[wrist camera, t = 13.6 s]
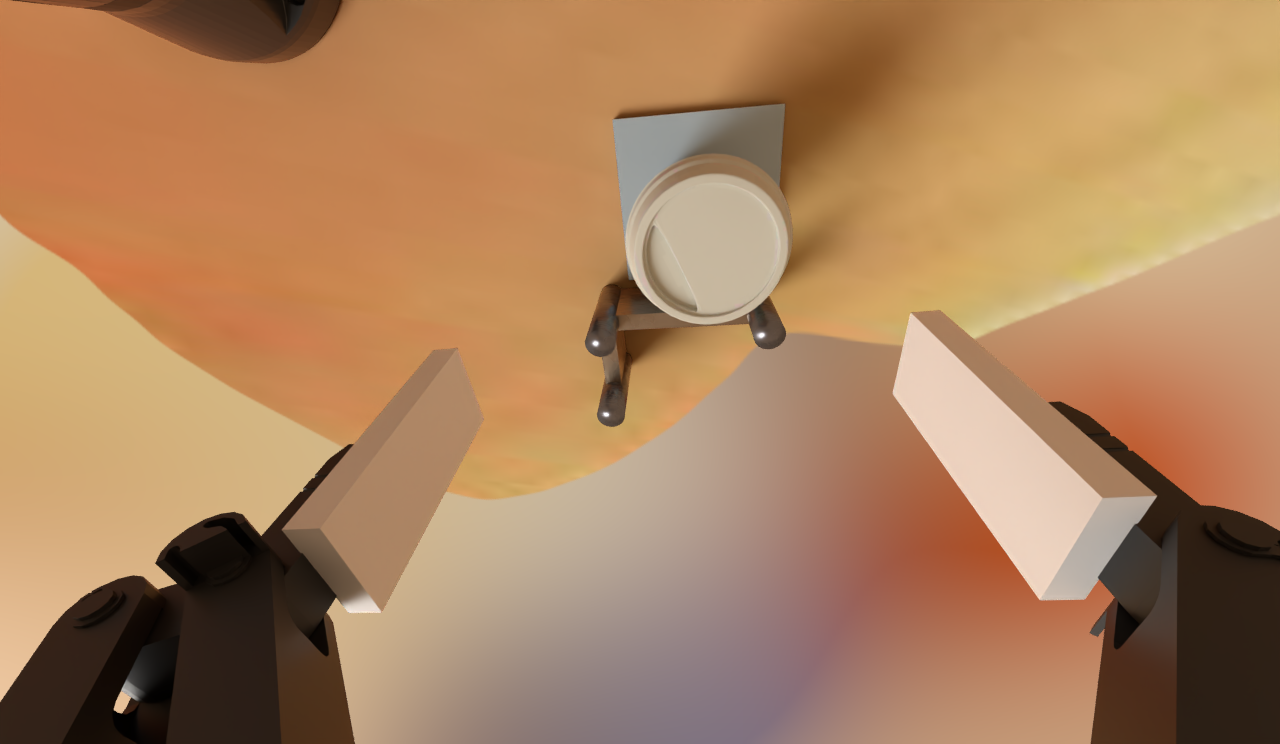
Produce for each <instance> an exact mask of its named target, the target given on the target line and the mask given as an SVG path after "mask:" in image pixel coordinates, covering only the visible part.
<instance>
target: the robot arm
mask: <svg viewBox="0 0 1280 744" xmlns="http://www.w3.org/2000/svg"><path fill="white" fill-rule="evenodd" d="M13 1H22V2H31V3H40V4H49V5H58V6H67V7H77V8H85V9H93V10H100V11H104V12H106V13H109V14H111V15H113V16H115V17H117V18H120V19H122V20H124V21H126V22H128V23H131V24H133V25H135V26H137V27H139V28H142V29H144V30H146V31H148V32H150V33H153V34H155V35H157V36H159V37H161V38H164V39H166V40H168V41H170V42H172V43H175V44H177V45H179V46H181V47H184V48H186V49H188V50H190V51H193V52H196V53H199V54H201V55H205V56H208V57H212V58H216V59H220V60H225V61H233V62H249V63H276V62H282V61H286V60H289V59H292V58H294V57H297V56H299V55H301V54H303V53H304V52H306V51H307V50H309V49H310V48H311V47H312V46H314V45H315V44H316V43H317V42H318V41H319V40H320V39H321V37H322V36H323V35H324V33H325V32H326V31H327V29H328V28H329V26H330V24H331V22H332V20H333V18H334V16H335V14H336V11H337V8H338V6H339V2H340V0H13ZM893 395H894V396H895V398H896V399H897V401H898V402H899V403H900V405H901V406H902V407H903V409H904V410H905V412H906V413H907V415H908V416H909V417H910V419H911V420H912V422H913V423H914V424H915V426H916V427H917V429H918V430H919V431H920V433H921V434H922V436H923V437H924V438H925V440H926V441H927V443H928V444H929V445H930V447H931V448H932V450H933V451H934V452H935V454H936V455H937V457H938V458H939V459H940V461H941V462H942V464H943V465H944V466H945V468H946V469H947V470H948V472H949V473H950V475H951V476H952V477H953V479H954V480H955V482H956V483H957V485H958V486H959V487H960V489H961V490H962V492H963V493H964V494H965V496H966V497H967V498H968V500H969V501H970V503H971V504H972V506H973V507H974V508H975V510H976V511H977V512H978V514H979V515H980V517H981V518H982V520H983V521H984V522H985V524H986V525H987V527H988V528H989V529H990V531H991V532H992V534H993V535H994V536H995V538H996V539H997V541H998V542H999V543H1000V545H1001V546H1002V548H1003V549H1004V550H1005V552H1006V553H1007V555H1008V556H1009V558H1010V559H1011V560H1012V562H1013V563H1014V564H1015V566H1016V567H1017V568H1018V570H1019V571H1020V573H1021V574H1022V576H1023V577H1024V579H1025V580H1026V581H1027V583H1028V584H1029V586H1030V587H1031V588H1032V590H1033V591H1034V593H1035V594H1036V595H1037V597H1038V598H1039V599H1040V600H1077V599H1085V598H1086V597H1087V595H1088V594H1089V593H1090V591H1091V590H1092V588H1093V587H1094V585H1095V584H1096V583H1097V581H1098V580H1101V582H1102V583H1103V584H1104V585H1105V587H1106V588H1107V589H1108V590H1109V591H1110V592H1111V593H1112V595H1113V596H1114V597H1115V598H1114V599H1113V601H1112V602H1111V603H1110V605H1109V606H1108V607H1107V609H1106V610H1105V611H1104V613H1103V614H1102V615H1101V616H1100V618H1099V619H1098V620H1097V622H1096V623H1095V624H1094V626H1093V628H1092V630H1091V631H1090V633H1091V634H1093V635H1095V636H1099V634H1100V633H1101V632H1102V631H1103V629H1105V632H1104V639H1103V648H1102V656H1101V664H1100V672H1099V680H1098V689H1097V697H1096V706H1095V713H1094V721H1093V729H1092V738H1091V744H1280V531H1279V530H1277V529H1275V528H1273V527H1272V526H1270V525H1268V524H1266V523H1264V522H1263V521H1260V520H1258V519H1255V518H1253V517H1250V516H1248V515H1245V514H1243V513H1240V512H1237V511H1233V510H1229V509H1225V508H1221V507H1216V506H1203V505H1202V506H1201V505H1200V504H1198V503H1197V502H1196V501H1195V500H1193V499H1192V498H1191V497H1189V496H1188V495H1187V494H1186V493H1184V492H1183V491H1182V490H1181V489H1180V488H1178V487H1177V486H1176V485H1175V484H1173V483H1172V482H1171V481H1170V480H1168V479H1167V478H1166V477H1165V476H1163V475H1162V474H1161V473H1160V472H1158V471H1157V470H1156V469H1155V468H1153V467H1152V466H1151V465H1150V464H1148V463H1147V462H1146V461H1145V460H1143V459H1142V458H1141V457H1140V456H1139V455H1137V454H1136V453H1135V452H1133V451H1129V450H1128V447H1127V446H1126V445H1125V444H1124V443H1122V442H1121V441H1120V440H1119V439H1117V438H1116V437H1114V436H1110V433H1109V431H1107V430H1106V429H1105V428H1104V427H1102V426H1101V425H1100V424H1098V423H1097V422H1096V421H1095V420H1094V419H1092V418H1091V417H1090V416H1088V415H1087V414H1084V413H1082V412H1080V411H1078V410H1076V409H1074V408H1072V407H1070V406H1068V405H1066V404H1064V403H1062V402H1047V401H1046V400H1044V399H1043V398H1042V397H1041V396H1040V395H1039V394H1037V393H1036V392H1035V391H1034V390H1033V389H1032V388H1030V387H1029V386H1028V385H1027V384H1026V383H1025V382H1023V381H1022V380H1021V379H1020V378H1019V377H1017V376H1016V375H1015V374H1014V373H1013V372H1012V371H1011V370H1009V369H1008V368H1007V367H1006V366H1005V365H1003V364H1002V363H1001V362H1000V361H999V360H997V359H996V358H995V357H994V356H993V355H992V354H990V353H989V352H988V351H987V350H986V349H985V348H984V347H982V346H981V345H980V344H979V343H978V342H977V341H975V340H974V339H973V338H972V337H971V336H970V335H968V334H967V333H966V332H965V331H964V330H963V329H961V328H960V327H959V326H958V325H957V324H955V323H954V322H953V321H952V320H951V319H950V318H948V317H947V316H946V315H945V314H944V313H943V312H941V311H940V310H937V311H924V312H912V313H910V318H909V322H908V327H907V331H906V336H905V340H904V345H903V349H902V354H901V359H900V363H899V368H898V372H897V377H896V381H895V385H894V390H893ZM483 420H484V418H483V415H482V412H481V410H480V407H479V404H478V402H477V399H476V396H475V394H474V391H473V388H472V386H471V383H470V380H469V378H468V375H467V372H466V370H465V367H464V364H463V362H462V359H461V356H460V354H459V351H458V348H454V349H441V350H433V351H432V353H431V354H430V355H429V356H428V357H427V359H426V360H425V361H424V362H423V363H422V364H421V366H420V367H419V368H418V369H417V370H416V372H415V373H414V374H413V375H412V376H411V377H410V379H409V380H408V381H407V382H406V383H405V385H404V386H403V387H402V388H401V389H400V390H399V392H398V393H397V394H396V395H395V396H394V398H393V399H392V400H391V401H390V402H389V403H388V405H387V406H386V407H385V408H384V409H383V411H382V412H381V413H380V414H379V415H378V416H377V418H376V419H375V420H374V421H373V422H372V424H371V425H370V426H369V427H368V428H367V429H366V431H365V432H364V433H363V434H362V435H361V437H360V438H359V439H358V440H357V441H356V442H355V444H349V445H347V446H346V447H345V448H343V449H342V450H341V451H339V452H338V453H337V454H335V455H334V456H332V457H331V458H330V459H329V460H328V461H327V462H326V463H325V464H324V465H323V467H322V468H321V469H320V470H319V471H318V472H317V473H316V474H315V478H312V479H311V480H310V481H309V482H308V484H307V485H306V486H305V487H304V488H303V489H304V490H303V492H300V493H299V494H298V495H297V496H296V497H295V498H294V500H293V501H292V502H291V503H290V504H289V505H288V506H287V508H286V509H285V510H284V511H283V512H282V513H281V514H280V515H279V517H278V518H277V519H276V520H275V521H274V522H273V523H272V525H271V526H270V527H269V528H268V529H267V530H266V532H265V533H264V534H263V535H262V536H261V535H260V534H259V533H258V532H257V531H256V530H255V529H254V527H253V526H252V525H251V524H250V523H249V522H248V520H247V519H246V518H245V517H244V516H243V515H242V514H239V513H235V512H231V513H223V514H219V515H216V516H213V517H211V518H207V519H205V520H203V521H201V522H199V523H197V524H195V525H194V526H192V527H190V528H188V529H187V530H185V531H184V532H182V533H181V534H180V535H179V536H177V537H176V538H174V539H173V540H172V541H171V542H170V543H169V544H168V545H167V546H166V547H165V548H164V549H163V550H162V552H161V553H160V555H159V557H158V559H157V561H156V563H155V564H156V565H158V566H159V567H160V568H161V569H162V570H163V571H164V572H165V573H167V575H168V576H170V577H171V578H172V579H173V580H174V581H175V582H176V583H177V584H175V585H171V586H168V587H165V588H161V589H157V588H155V587H154V586H153V585H152V584H151V583H150V582H148V581H147V580H146V579H145V578H144V577H142V576H129V577H124V578H121V579H117V580H115V581H112V582H110V583H108V584H106V585H103V586H101V587H99V588H97V589H95V590H93V591H92V593H88V594H87V595H85V596H84V597H82V598H81V599H80V600H79V601H78V602H77V603H75V604H74V605H73V606H72V607H70V608H69V609H68V610H67V611H66V612H65V613H64V614H63V615H62V616H61V617H60V618H59V619H58V621H57V622H56V623H55V624H54V625H53V626H52V628H51V629H50V631H49V632H48V634H47V635H46V637H45V638H44V639H43V641H42V642H41V644H40V645H39V647H38V648H37V650H36V651H35V652H34V654H33V655H32V657H31V658H30V660H29V661H28V663H27V664H26V666H25V667H24V668H23V670H22V671H21V673H20V674H19V676H18V677H17V679H16V680H15V681H14V683H13V685H12V686H11V687H10V689H9V690H8V692H7V693H6V695H5V696H4V698H3V699H2V700H1V702H0V744H355V742H354V737H353V731H352V726H351V720H350V715H349V709H348V703H347V698H346V692H345V686H344V681H343V675H342V670H341V664H340V659H339V653H338V648H337V642H336V636H335V631H334V625H333V622H332V620H331V618H330V617H329V615H328V614H327V613H326V612H327V610H328V609H329V607H330V606H331V604H332V603H333V601H334V600H335V598H337V599H338V600H339V601H340V603H341V604H342V605H343V606H344V608H345V609H346V610H347V611H348V613H372V612H373V613H376V612H377V613H378V612H382V611H383V609H384V607H385V606H386V604H387V602H388V600H389V598H390V596H391V594H392V592H393V590H394V588H395V587H396V585H397V583H398V581H399V579H400V577H401V575H402V573H403V572H404V569H405V568H406V566H407V564H408V562H409V560H410V558H411V556H412V554H413V553H414V551H415V549H416V547H417V545H418V543H419V541H420V539H421V537H422V536H423V534H424V532H425V530H426V528H427V526H428V524H429V522H430V520H431V518H432V517H433V515H434V513H435V511H436V509H437V507H438V505H439V503H440V502H441V499H442V498H443V495H444V494H445V492H446V490H447V488H448V486H449V485H450V483H451V481H452V479H453V477H454V475H455V473H456V471H457V469H458V467H459V466H460V464H461V462H462V460H463V458H464V456H465V454H466V452H467V450H468V449H469V447H470V445H471V443H472V441H473V439H474V437H475V435H476V433H477V432H478V430H479V428H480V426H481V424H482V422H483ZM121 691H122V692H124V693H125V694H127V695H128V696H130V697H131V699H130V701H129V703H128V705H127V707H126V709H125V710H124V711H123V713H122V714H121V713H117V712H116V711H114V706H115V702H116V700H117V697H118V695H119V694H120V692H121Z"/></svg>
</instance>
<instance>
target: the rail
mask: <svg viewBox="0 0 1280 744" xmlns="http://www.w3.org/2000/svg"><path fill="white" fill-rule="evenodd" d="M737 324H749V325H750V328H751V331H752V334H753V337H754V340H755V343H756V344H757V345H758V346H759V347H761V348H763V349H773V348H775V347H778V346H779V345H780V344H781V343H782V342H783V341H784V339H785V337H786V331H785V328H784V326H783V324H782V322H781V320H780V317H779V315H778V313H777V311H776V309H775V307H774V305H773V303H772V300H771V298H770V296H768V297H767V298H766V299H765V300H764V301H763V302H762V303H761V304H760V305H759V306H757V307H756V308H755V309H753V310H752V311H750V312H749V313H747V314H745V315H743V316H741V317H739V318H736V319H734V320H731V321H728V322H723V323H718V324H695V323H689V322H686V321H682V320H679V319H677V318H675V317H673V316H670V315H669V314H667V313H666V312H664V311H663V310H661V309H660V308H658V307H657V306H656V305H654V304H653V303H652V302H651V301H650V300H649V299H648V298H647V297H646V296H645V295H644V294H643V292H642V291H641V290H640V288H626V289H622V288H620V287H619V286H617V285H607V286H605V287H604V288H603V289H602V291H601V294H600V297H599V300H598V303H597V306H596V309H595V312H594V315H593V318H592V321H591V324H590V327H589V331H588V334H587V337H586V340H585V345H586V348H587V350H588V351H589V352H590V353H591V354H593V355H595V356H598V357H602V360H603V366H604V373H605V381H604V385H603V390H602V394H601V399H600V403H599V408H598V413H597V417H598V420H599V421H600V422H601V423H602V424H604V425H606V426H610V427H614V426H618V425H620V424H621V423H622V422H623V420H624V417H625V409H626V402H627V394H628V387H629V380H630V372H631V365H632V358H631V356H630V354H629V353H628V352H626V343H625V334H624V330H639V329H658V328H678V327H698V326H717V325H737Z"/></svg>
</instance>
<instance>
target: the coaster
mask: <svg viewBox="0 0 1280 744" xmlns="http://www.w3.org/2000/svg"><path fill="white" fill-rule="evenodd" d="M784 115H785V104H784V103H781V104H771V105H760V106H749V107H738V108H728V109H717V110H706V111H695V112H685V113H674V114H663V115H652V116H641V117H631V118H620V119H613V129H614V139H615V149H616V158H617V168H618V178H619V188H620V198H621V208H622V218H623V227H624V237H625V236H626V228H627V223H628V219H629V215H630V212H631V210H632V207H633V205H634V203H635V201H636V199H637V198H638V196H639V194H640V193H641V192H642V190H643V189H644V188H645V186H646V185H647V184H648V183H649V182H650V181H651V180H652V179H653V178H654V177H655V176H656V175H657V174H658V173H660V172H661V171H662V170H664V169H665V168H667V167H668V166H670V165H672V164H674V163H676V162H678V161H680V160H682V159H685V158H688V157H692V156H696V155H701V154H713V153H716V154H727V155H732V156H736V157H739V158H742V159H745V160H747V161H749V162H751V163H753V164H755V165H756V166H758V167H760V168H761V169H762V170H764V171H765V172H766V173H767V174H768V175H769V176H770V177H771V178H772V179H773V180H774V181H775V182H776V184H777V185H778V187H779V185H780V171H781V157H782V143H783V129H784ZM625 247H626V246H625ZM626 257H627V255H626ZM627 267H628V277H629V280H635V279H634V277H633V275H632V272H631V270H630V267H629V264H628V260H627Z"/></svg>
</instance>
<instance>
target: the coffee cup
mask: <svg viewBox="0 0 1280 744" xmlns="http://www.w3.org/2000/svg"><path fill="white" fill-rule="evenodd" d="M792 241H793V229H792V220H791V214H790V210H789V207H788V204H787V201H786V199H785V197H784V195H783V193H782V191H781V190H780V188H779V187H778V185H777V184H776V182H775V181H774V180H773V179H772V178H771V177H770V176H769V175H768V174H767V173H766V172H765V171H764V170H762V169H761V168H760V167H758V166H756V165H755V164H753V163H751V162H749V161H747V160H745V159H742V158H739V157H736V156H732V155H727V154H716V153H713V154H701V155H696V156H692V157H688V158H685V159H682V160H680V161H678V162H676V163H674V164H672V165H670V166H668V167H667V168H665V169H664V170H662V171H661V172H660V173H658V174H657V175H656V176H655V177H654V178H653V179H652V180H651V181H650V182H649V183H648V184H647V185H646V186H645V188H644V189H643V190H642V192H641V193H640V194H639V196H638V198H637V199H636V201H635V203H634V205H633V207H632V210H631V212H630V215H629V219H628V223H627V228H626V236H625V246H626V255H627V260H628V264H629V267H630V270H631V272H632V275H633V277H634V279H635V282H636V283H637V285H638V287H639V288H640V290H641V291H642V292H643V294H644V295H645V296H646V297H647V298H648V299H649V300H650V301H651V302H652V303H653V304H654V305H656V306H657V307H658V308H660V309H661V310H663V311H664V312H666V313H667V314H669V315H670V316H673V317H675V318H677V319H679V320H682V321H686V322H689V323H695V324H718V323H723V322H728V321H731V320H734V319H736V318H739V317H741V316H743V315H745V314H747V313H749V312H750V311H752V310H753V309H755V308H756V307H757V306H759V305H760V304H761V303H762V302H763V301H764V300H765V299H766V298H767V297H768V296H769V295H770V294H771V292H772V291H773V290H774V288H775V287H776V285H777V284H778V282H779V280H780V278H781V277H782V275H783V273H784V271H785V269H786V266H787V264H788V261H789V258H790V254H791V249H792Z"/></svg>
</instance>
